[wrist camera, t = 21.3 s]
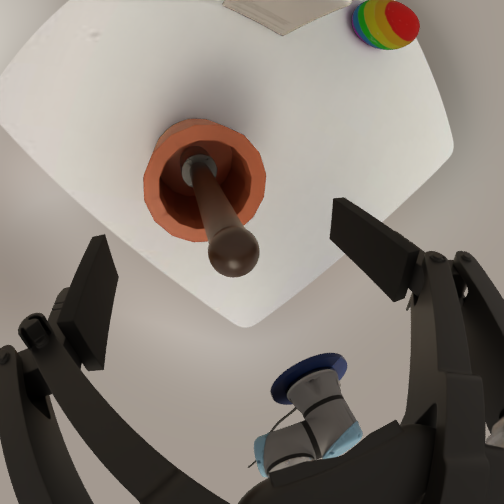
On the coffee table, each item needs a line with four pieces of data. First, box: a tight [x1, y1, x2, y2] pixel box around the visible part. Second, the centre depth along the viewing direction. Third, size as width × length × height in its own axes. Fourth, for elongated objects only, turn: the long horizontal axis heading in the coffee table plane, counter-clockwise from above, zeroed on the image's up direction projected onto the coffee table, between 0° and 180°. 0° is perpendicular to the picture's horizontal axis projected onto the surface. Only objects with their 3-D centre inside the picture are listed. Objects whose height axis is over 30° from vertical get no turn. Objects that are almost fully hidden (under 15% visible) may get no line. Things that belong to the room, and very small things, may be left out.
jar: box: [143, 119, 266, 242], centre depth 27 cm, size 10×10×12 cm
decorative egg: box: [352, 0, 420, 50], centre depth 23 cm, size 8×8×10 cm
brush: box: [180, 146, 259, 277], centre depth 22 cm, size 4×4×23 cm
